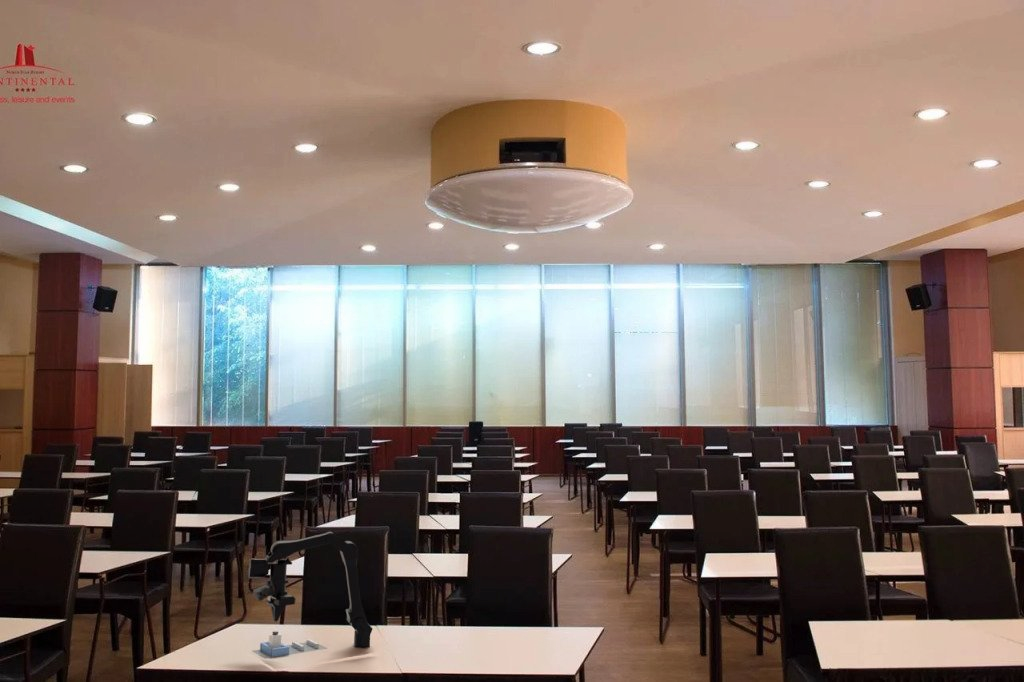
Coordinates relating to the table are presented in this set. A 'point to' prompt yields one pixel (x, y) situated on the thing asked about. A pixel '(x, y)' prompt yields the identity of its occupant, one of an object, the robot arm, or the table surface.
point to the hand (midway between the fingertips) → (275, 621)
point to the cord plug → (275, 640)
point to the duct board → (287, 649)
